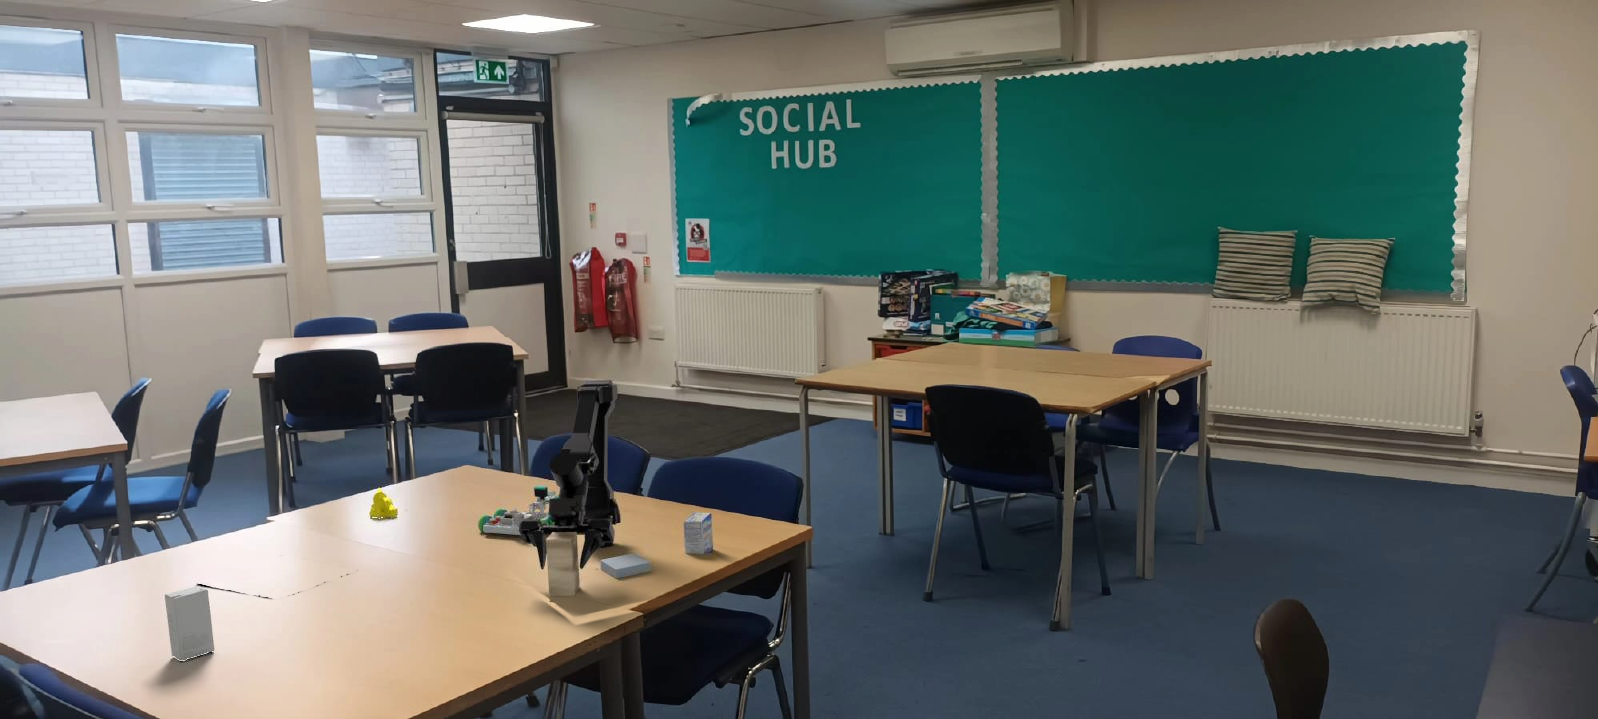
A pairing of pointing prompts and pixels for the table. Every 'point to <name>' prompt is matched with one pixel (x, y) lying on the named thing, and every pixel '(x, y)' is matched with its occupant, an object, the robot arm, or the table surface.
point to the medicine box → (698, 533)
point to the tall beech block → (562, 564)
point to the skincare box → (189, 622)
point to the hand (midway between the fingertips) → (561, 568)
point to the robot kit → (519, 515)
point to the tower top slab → (625, 565)
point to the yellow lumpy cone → (382, 506)
